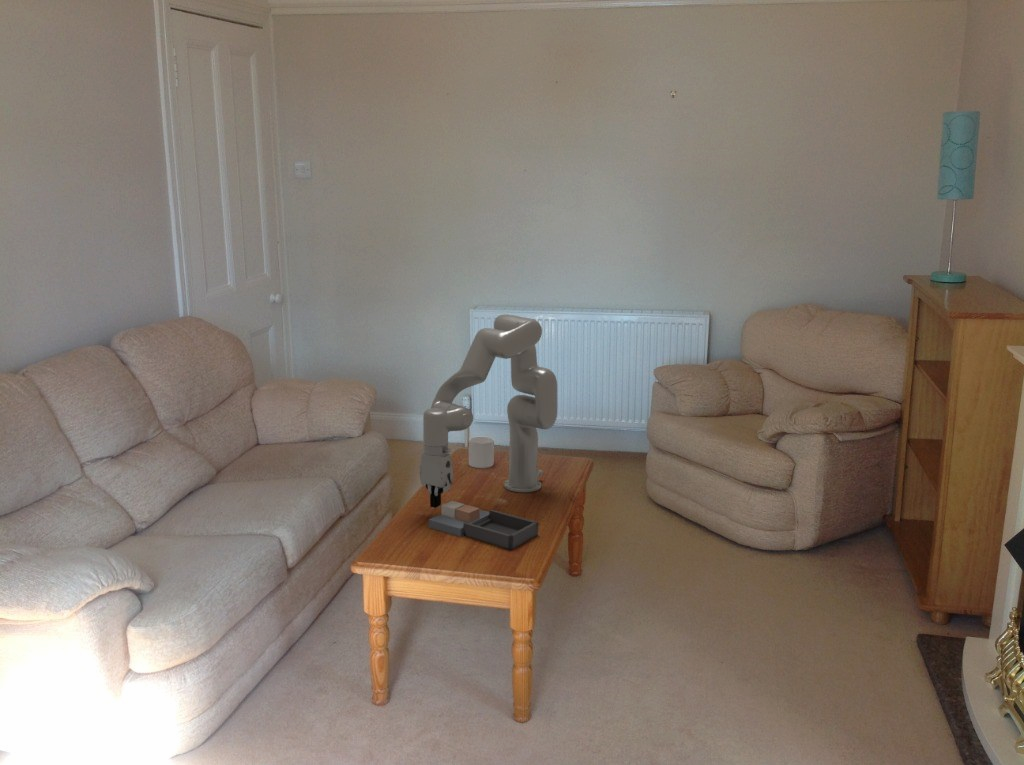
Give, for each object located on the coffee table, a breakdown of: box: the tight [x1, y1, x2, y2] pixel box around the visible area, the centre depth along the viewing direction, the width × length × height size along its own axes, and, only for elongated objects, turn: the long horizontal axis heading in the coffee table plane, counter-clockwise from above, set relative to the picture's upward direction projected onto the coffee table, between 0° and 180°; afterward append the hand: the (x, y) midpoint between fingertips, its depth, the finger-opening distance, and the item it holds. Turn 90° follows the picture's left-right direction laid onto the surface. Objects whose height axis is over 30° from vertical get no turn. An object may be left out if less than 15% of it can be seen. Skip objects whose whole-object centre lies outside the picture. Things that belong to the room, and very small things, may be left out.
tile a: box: [440, 500, 466, 518], centre depth 293 cm, size 5×5×3 cm
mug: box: [468, 435, 495, 469], centre depth 349 cm, size 12×9×9 cm
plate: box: [428, 509, 489, 537], centre depth 292 cm, size 16×12×2 cm
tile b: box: [456, 504, 481, 522], centre depth 290 cm, size 5×5×3 cm
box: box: [462, 509, 539, 551], centre depth 283 cm, size 14×17×4 cm
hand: (435, 506), depth 296 cm, fingers closed
